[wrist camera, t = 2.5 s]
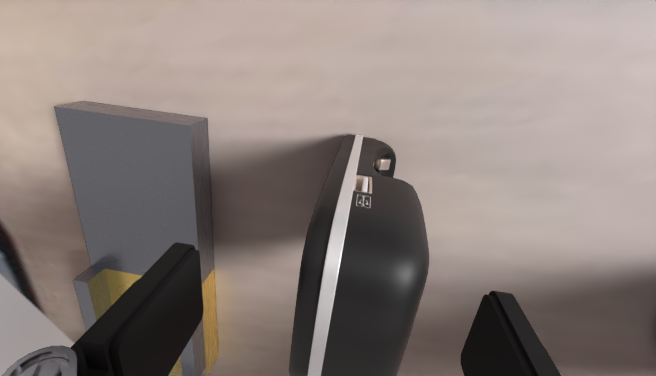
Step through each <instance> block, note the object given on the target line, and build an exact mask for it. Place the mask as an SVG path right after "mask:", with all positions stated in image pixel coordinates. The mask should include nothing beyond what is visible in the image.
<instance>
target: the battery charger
mask: <svg viewBox="0 0 656 376" xmlns="http://www.w3.org/2000/svg"><path fill="white" fill-rule="evenodd" d="M395 163H396V157H395V153H394V151H393V149H392V148H391V147H390V146H389V145H387V144H385V143H384V142H381V141H378V140H376V139H373V138H366V137H363V135H358V134H356V136H354V135H347V136H345V137H344V138H343V140H342V143H341V146H340V148H339V151H338V153H337V156H336V158H335V160H334V162H333V165H332V167H331V169H330V172H329V174H328V176H327V179H326V181H325V184H324V186H323V189H322V191H321V194H320V197H319V199H318V202H317V204H316V207H315V210H314V213H313V216H312V219H311V222H310V225H309V229H308V232H307V236H306V240H305V245H304V250H303V255H302V261H301V268H300V275H299V284H298V292H297V300H296V309H295V317H294V326H293V335H292V345H291V354H290V364H289V373H290V376H396V375H397V372H398V369H399V366H400V363H401V360H402V357H403V354H404V351H405V348H406V345H407V342H408V339H409V335H410V332H411V329H412V326H413V323H414V319H415V316H416V313H417V309H418V306H419V303H420V300H421V296H422V293H423V290H424V286H425V283H426V278H427V274H428V267H429V249H428V241H427V234H426V228H425V222H424V217H423V212H422V207H421V204H420V201H419V198H418V196H417V193H416V191H415V190H414V188H413V186H411V185H410V184H408V183H406V182H405V181H402V180H399V179H395V178H393V175H394V170H395Z"/></svg>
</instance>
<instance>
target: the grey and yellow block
mask: <svg viewBox="0 0 656 376" xmlns="http://www.w3.org/2000/svg"><path fill="white" fill-rule="evenodd" d="M54 108H55V112H56V117H57V121H58V125H59V130H60V134H61V138H62V143H63V147H64V151H65V156H66V160H67V164H68V168H69V173H70V177H71V181H72V186H73V190H74V194H75V199H76V203H77V207H78V211H79V216H80V220H81V224H82V229H83V233H84V237H85V242H86V246H87V250H88V255H89V259H90V263H91V267H89V268H88V269H87V270H85V271H84V272H83V273H81V274H80V275H79V276H77V277H76V278H75V279H74V280H73V282H74V286H75V290H76V294H77V297H78V301H79V305H80V309H81V312H82V316H83V320H84V324H85V327H86V331H87V330H88V329H89V328H90V327H91V326H92V325H93V324H94V323H95V322H96V321H97V320H98V319H99V318H100V317H101V316H102V315H103V314H104V313H105V312H106V311H107V310H108V309H109V308H110V307H111V306H112V305H113V304H114V303H115V302H116V301H117V300H118V299H119V298H120V297H121V295H122V294H123V293H124V292H125V291H126V290H127V289H128V288H129V287H130V286H131V285H132V284H133V283H134V282H136V281H137V280H138V279H140V278H141V277H142V276H143V275H144V274H145V273H146V272H147V271H148V270H149V269H150V268H151V266H152V265H153V264H154V263H155V262H156V261H157V260H158V259H159V258H160V257H161V256H162V255H163V254H164V253H165V252H166V251H167V250H168V249H169V248H170V247H171V246H172V245H173V244H174V243H176V242H178V243H185V244H191V245H194V247H195V250H199V253H200V265H201V280H202V294H203V308H204V312H203V317H202V320H201V322H200V324H199V325H198V327H197V329H196V330H195V332H194V334H193V335H192V337H191V339H190V340H189V342H188V344H187V345H186V347H185V349H184V350H183V352H182V354H181V355H180V357H179V359H178V360H177V362H176V364H175V365H174V367H173V369H172V370H171V372H170V374H169V375H168V376H208V374H209V372H210V370H211V368H212V366H213V364H214V362H215V360H216V358H217V356H218V341H217V319H216V297H215V275H214V253H213V231H212V209H211V187H210V165H209V143H208V121H207V118H202V117H195V116H188V115H181V114H173V113H166V112H159V111H152V110H145V109H138V108H130V107H123V106H116V105H109V104H102V103H95V102H87V101H80V102H75V103H69V104H64V105H58V106H54Z"/></svg>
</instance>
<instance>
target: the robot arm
mask: <svg viewBox="0 0 656 376" xmlns="http://www.w3.org/2000/svg"><path fill="white" fill-rule="evenodd" d="M203 312H204V308H203V294H202V280H201V265H200V253H199V250H195V247H194V245H191V244H185V243H178V242H176V243H174V244H173V245H172V246H171V247H170V248H169V249H168V250H167V251H166V252H165V253H164V254H163V255H162V256H161V257H160V258H159V259H158V260H157V261H156V262H155V263H154V264H153V265H152V266H151V268H150V269H149V270H148V271H147V272H146V273H145V274H144V275H143V276H142V277H141V278H140V279H138V280H137V281H136V282H134V283H133V284H132V285H131V286H130V287H129V288H128V289H127V290H126V291H125V292H124V293H123V294H122V295H121V297H120V298H119V299H118V300H117V301H116V302H115V303H114V304H113V305H112V306H111V307H110V308H109V309H108V310H107V311H106V312H105V313H104V314H103V315H102V316H101V317H100V318H99V319H98V320H97V321H96V322H95V323H94V324H93V325H92V326H91V327H90V328H89V329H88V330H87V331H86V332H85V333H84V334H83V336H82V337H81V338H80V339H79V340H78V341H77V342H76V343H75V344H74V345H73V346H72V347H71V348H69V347H65V346H50V347H46V348H42V349H39V350H37V351H34V352H32V353H29V354H28V355H26V356H24V357H23V358H21V359H19V360H18V361H17V362H15V363H14V364H13V365H12V366H10V367H9V368H8V369H7V370H6V371H5V373H4V374H3V375H2V376H168V375H169V374H170V372H171V370H172V369H173V367H174V365H175V364H176V362H177V360H178V359H179V357H180V355H181V354H182V352H183V350H184V349H185V347H186V345H187V344H188V342H189V340H190V339H191V337H192V335H193V334H194V332H195V330H196V329H197V327H198V325H199V324H200V322H201V320H202V317H203ZM461 366H462V369H463V373H464V376H561V375H560V373H559V371H558V370H557V368H556V366H555V365H554V363H553V361H552V359H551V358H550V356H549V354H548V353H547V351H546V349H545V348H544V347H543V345H542V344H541V342H540V340H539V339H538V337H537V335H536V333H535V332H534V330H533V328H532V327H531V325H530V323H529V321H528V320H527V318H526V316H525V314H524V313H523V311H522V309H521V308H520V306H519V304H518V302H517V301H516V299H515V297H514V296H513V295H512V294H510V293H504V292H497V291H491V292H490V293H489V295H484V296H483V298H482V301H481V303H480V306H479V309H478V311H477V314H476V316H475V319H474V322H473V324H472V327H471V329H470V332H469V335H468V337H467V340H466V342H465V345H464V348H463V350H462V353H461Z"/></svg>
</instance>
